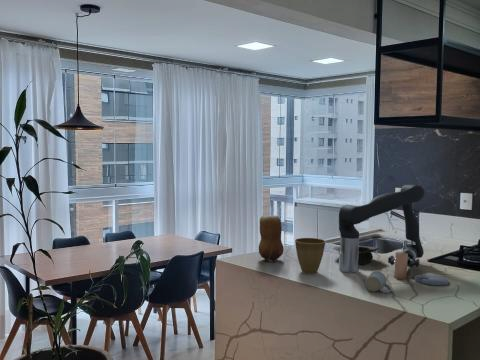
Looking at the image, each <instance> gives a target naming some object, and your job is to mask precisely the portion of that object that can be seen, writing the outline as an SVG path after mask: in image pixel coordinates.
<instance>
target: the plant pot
mask: <svg viewBox="0 0 480 360" xmlns="http://www.w3.org/2000/svg"><path fill="white" fill-rule="evenodd" d="M294 242H295V243H294V244H295V251H296V256H297V260H298V263H299V267H300V269H301V272H302V273H303V274H308V275H315V274H317V273H318V271H319V268H320V265H321V262H322V259H323V256H324V251H325V247H326V240H324V239H322V238H321V239H320V238H314V237H299V238H295V240H294Z"/></svg>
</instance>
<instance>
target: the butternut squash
mask: <svg viewBox="0 0 480 360" xmlns="http://www.w3.org/2000/svg"><path fill="white" fill-rule="evenodd" d="M282 231H283V230H282V220H281V218H280V217H279V216H278V215H276V214H275V215H272V214H271V215H266V214H265V215H262V216H260V218H259V234H260V241H259V243H258V254H259V255H260V257H261V258H263V259H264V260H266V261H269V262H276V261H277V260H278V259H280V257H281V256H282V255H283V254H284V245H283V242H282Z"/></svg>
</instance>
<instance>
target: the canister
mask: <svg viewBox="0 0 480 360" xmlns="http://www.w3.org/2000/svg"><path fill="white" fill-rule="evenodd" d="M394 258H395V260H394V262H395V264H394V278H395V279H397V280H400V281H401V280H402V281H403V280H404V279H405V280H407V278H408V266H407V262H408V254H407V253H404V252H402V251H397V252H395V257H394Z"/></svg>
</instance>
